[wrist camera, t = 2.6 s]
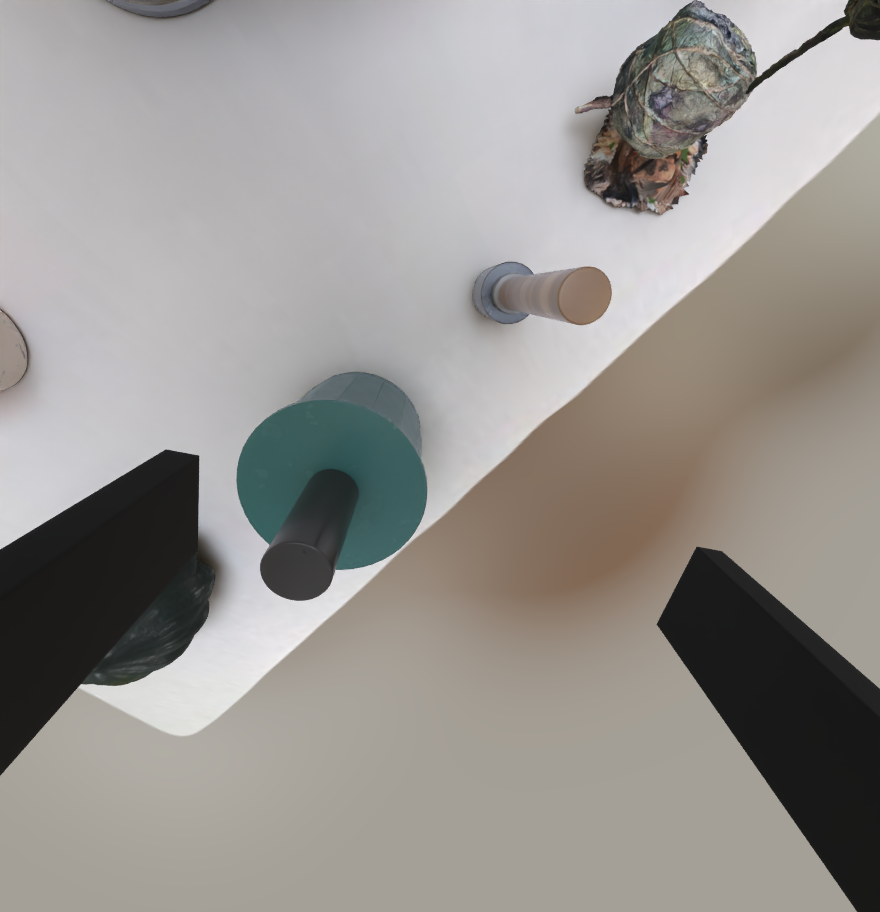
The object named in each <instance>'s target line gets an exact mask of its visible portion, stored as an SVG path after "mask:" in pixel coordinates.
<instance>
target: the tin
mask: <svg viewBox="0 0 880 912" xmlns="http://www.w3.org/2000/svg"><path fill="white" fill-rule="evenodd" d="M319 398H333V399H343V400H348V401H353V402H356V403H359V404H362V405H365V406H367V407H370V408H372V409H374V410H376V411H378V412H380V413H381V414H383V415H384V416H386V417H387V418H389V419H390V420H391V421H393V422H394V423H395V424H396V425H398V426H399V427H400V428H401V429H402V431H403V432H404V433H405V434H406V435H407V436H408V437H409V439H410V440H411V441H412V443H413V444H414V446H415V447H416V449H417V451H418V453H419V455H420V457H421V431H420V423H419V417H418V414H417V413H416V410H415V408H414V406H413V404H412V403H411V401H410V400H409V398H408V397H407V396H406V395H405V394H404V392H403V391H402V390H400V389H399V388H398V387H397V386H396V385H394V384H393V383H391V382H390V381H388V380H386V379H384V378H382V377H379V376H376V375H373V374H368V373H360V372H352V373H344V374H339V375H335V376H333V377H331V378H329V379H327V380H325V381H324V382H322V383H321V384H319V385H317V386H316V387H314V388H313V389H312V390H310V391H309V392H308V393H307V394H306V395H305V396H304V397H302V398H301V399H300V400H299V401H298V402H300V401H305V400H310V399H319Z"/></svg>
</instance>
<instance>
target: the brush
mask: <svg viewBox="0 0 880 912" xmlns="http://www.w3.org/2000/svg"><path fill="white" fill-rule="evenodd" d="M611 294H612V291H611V284H610V281H609V279H608V278H607V276H606V275H605V274H604V273H603V272H602V271H601V270H599V269H597V268H594V267H580V268H573V269H567V270H560V271H553V272H546V273H540V274H533V272H532V271H531V270H530V269H529V268H528V267H526V266H525V265H523V264H521V263H517V262H506V263H502V264H499V265H496V266H494V267H491V268H488V269H486V270H485V271H483V272H482V273H481V274H480V275H479V276H478V278H477V280H476V282H475V284H474V287H473V301H474V304H475V306H476V308H477V310H478V311H479V312H480V313H481V314H482V315H484V316H485V317H487V318H490V319H492V320H494V321H497V322H499V323H503V324H513V323H517V322H519V321H521V320H523V319H525V318H526V317H527V316H528V315H529V314H532V315H536V316H540V317H545V318H549V319H554V320H558V321H563V322H567V323H572V324H576V325H586V324H590V323H592V322H594V321H596V320H597V319H599V318H600V317H601V316H602V315H603V314H604V312H605V311H606V310H607V308H608V306H609V303H610V300H611Z"/></svg>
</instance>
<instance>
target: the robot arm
mask: <svg viewBox="0 0 880 912" xmlns="http://www.w3.org/2000/svg"><path fill="white" fill-rule="evenodd" d="M107 1H109V2H111V3H112V4H114V5H116V6H118V7H121V8H123V9H125V10H128V11H131V12H134V13H137V14H141V15H146V16H153V17H170V16H177V15H182V14H185V13H188V12H191V11H193V10H195V9H197V8H199V7H201V6H203V5H204V4H206V3H207V2H209V1H210V0H107ZM198 501H199V456H198V455H193V454H187V453H182V452H176V451H171V450H164V451H163V452H161V453H159V454H158V455H156V456H154V457H153V458H151V459H149V460H148V461H146V462H144V463H143V464H141V465H139V466H138V467H136V468H134V469H133V470H131V471H130V472H128V473H126V474H125V475H123V476H121V477H120V478H118V479H116V480H115V481H113V482H111V483H110V484H108V485H106V486H105V487H103V488H101V489H100V490H98V491H96V492H95V493H93V494H91V495H90V496H88V497H86V498H85V499H83V500H82V501H80V502H78V503H77V504H75V505H73V506H72V507H70V508H68V509H67V510H65V511H63V512H62V513H60V514H58V515H57V516H55V517H53V518H52V519H50V520H48V521H47V522H45V523H43V524H42V525H40V526H39V527H37V528H35V529H34V530H32V531H30V532H29V533H27V534H25V535H24V536H22V537H20V538H19V539H17V540H15V541H14V542H12V543H10V544H9V545H7V546H5V547H4V548H2V549H0V775H1V774H2V773H3V772H4V771H5V770H6V768H7V767H8V766H9V765H10V764H11V763H12V762H13V761H14V759H15V758H16V757H17V756H18V755H19V754H20V753H21V751H22V750H23V749H24V748H25V747H26V746H27V745H28V743H29V742H30V741H31V740H32V739H33V738H34V737H35V736H36V734H37V733H38V732H39V731H40V730H41V729H42V728H43V726H44V725H45V724H46V723H47V722H48V721H49V720H50V718H51V717H52V716H53V715H54V714H55V713H56V712H57V710H58V709H59V708H60V707H61V706H62V705H63V704H64V703H65V701H66V700H67V699H68V698H69V697H70V696H71V695H72V693H73V692H74V691H75V690H76V689H77V688H78V687H79V686H80V684H81V683H82V682H83V681H84V680H85V679H86V678H87V676H88V675H89V674H90V673H91V672H92V671H93V670H94V669H95V667H96V666H97V665H98V664H99V663H100V662H101V661H102V659H103V658H104V657H105V656H106V655H107V654H108V653H109V651H110V650H111V649H112V648H113V647H114V646H115V645H116V644H117V642H118V641H119V640H120V639H121V638H122V637H123V636H124V634H125V633H126V632H127V631H128V630H129V629H130V628H131V626H132V625H133V624H134V623H135V622H136V621H137V620H138V619H139V617H140V616H141V615H142V614H143V613H144V612H145V611H146V609H147V608H148V607H149V606H150V605H151V604H152V603H153V602H154V600H155V599H156V598H157V597H158V596H159V595H160V594H161V592H162V591H163V590H164V589H165V588H166V587H167V586H168V584H169V583H170V582H171V581H172V580H173V579H174V578H175V577H176V575H177V574H178V573H179V572H180V571H181V570H182V569H183V567H184V566H185V565H186V564H187V563H188V562H189V561H190V559H191V558H192V557H193V556H194V555H195V554H196V553H197V552H198ZM657 625H658V627H659V628H660V630H661V631H662V633H663V634H664V635H665V637H666V638H667V640H668V641H669V643H670V644H671V645H672V647H673V648H674V650H675V651H676V652H677V654H678V656H679V657H680V658H681V660H682V661H683V663H684V664H685V666H686V667H687V668H688V670H689V671H690V673H691V674H692V675H693V677H694V678H695V680H696V681H697V683H698V684H699V685H700V687H701V688H702V690H703V691H704V693H705V694H706V696H707V697H708V699H709V700H710V701H711V703H712V704H713V706H714V707H715V708H716V710H717V711H718V713H719V714H720V716H721V717H722V719H723V720H724V721H725V723H726V724H727V726H728V727H729V729H730V730H731V732H732V733H733V734H734V736H735V737H736V739H737V740H738V742H739V743H740V744H741V746H742V747H743V749H744V750H745V752H746V753H747V754H748V756H749V757H750V759H751V760H752V761H753V763H754V764H755V766H756V767H757V769H758V770H759V772H760V773H761V775H762V776H763V777H764V778H765V780H766V782H767V783H768V785H769V786H770V787H771V789H772V790H773V792H774V793H775V795H776V796H777V797H778V799H779V800H780V802H781V803H782V805H783V806H784V807H785V809H786V810H787V812H788V813H789V815H790V816H791V818H792V819H793V820H794V822H795V823H796V825H797V826H798V828H799V829H800V830H801V832H802V833H803V835H804V836H805V837H806V839H807V840H808V842H809V843H810V845H811V846H812V848H813V849H814V850H815V852H816V853H817V855H818V856H819V858H820V859H821V861H822V862H823V863H824V865H825V866H826V868H827V869H828V870H829V872H830V873H831V875H832V876H833V878H834V879H835V880H836V882H837V883H838V885H839V886H840V888H841V889H842V891H843V892H844V893H845V895H846V896H847V898H848V899H849V901H850V902H851V904H852V905H853V906H854V908H855V909H856V911H857V912H880V689H879V688H878V687H877V686H876V685H875V684H874V683H872V682H871V681H870V680H869V679H868V678H867V677H865V676H864V675H863V674H862V673H861V672H860V671H859V670H857V669H856V668H855V667H854V666H853V665H852V664H851V663H849V662H848V661H847V660H846V659H845V658H844V657H842V656H841V655H840V654H839V653H838V652H837V651H836V650H835V649H833V648H832V647H831V646H830V645H829V644H828V643H826V642H825V641H824V640H823V639H822V638H821V637H820V636H818V635H817V634H816V633H815V632H814V631H813V630H812V629H810V628H809V627H808V626H807V625H806V624H805V623H804V622H802V621H801V620H800V619H799V618H798V617H797V616H796V615H794V614H793V613H792V612H791V611H790V610H789V609H788V608H786V607H785V606H784V605H783V604H782V603H780V601H778V600H777V599H776V598H775V597H774V596H773V595H771V594H770V593H769V592H768V591H767V590H766V589H765V588H763V587H762V586H761V585H760V584H759V583H758V582H757V581H755V580H754V579H753V578H752V577H751V576H750V575H749V574H747V573H746V572H745V571H744V570H743V569H742V568H741V567H739V566H738V565H737V564H736V563H735V562H734V561H732V560H731V559H730V558H729V557H728V556H727V555H726V554H724V553H723V552H722V551H717V550H712V549H707V548H701V547H696V549H695V551H694V553H693V555H692V557H691V559H690V561H689V563H688V565H687V567H686V568H685V570H684V572H683V574H682V576H681V578H680V580H679V582H678V584H677V586H676V588H675V590H674V592H673V594H672V596H671V598H670V599H669V602H668V603H667V605H666V607H665V609H664V611H663V613H662V615H661V617H660V619H659V621H658V623H657Z"/></svg>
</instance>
